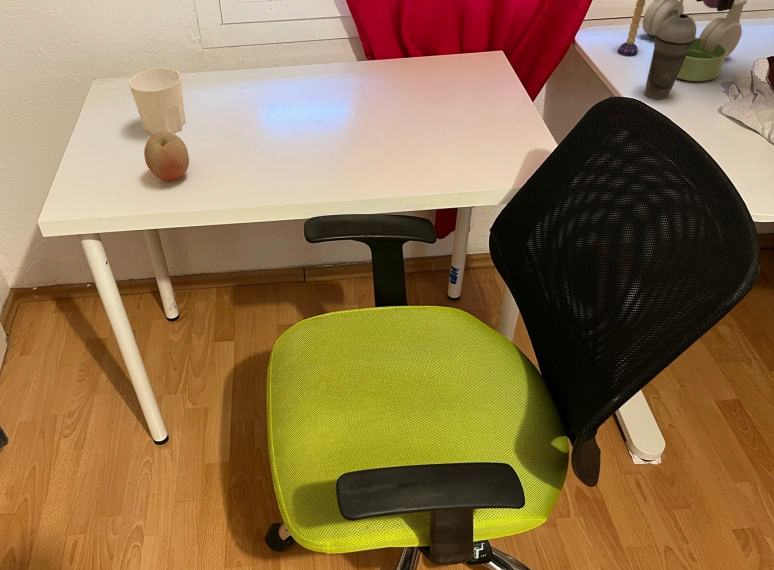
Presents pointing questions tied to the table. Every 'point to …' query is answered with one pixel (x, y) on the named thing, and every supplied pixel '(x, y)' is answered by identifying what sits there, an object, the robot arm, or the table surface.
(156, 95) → the cup
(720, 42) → the headphones
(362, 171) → the table surface
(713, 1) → the ball
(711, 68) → the bowl
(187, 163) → the fruit
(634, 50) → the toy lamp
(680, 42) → the beverage cup
